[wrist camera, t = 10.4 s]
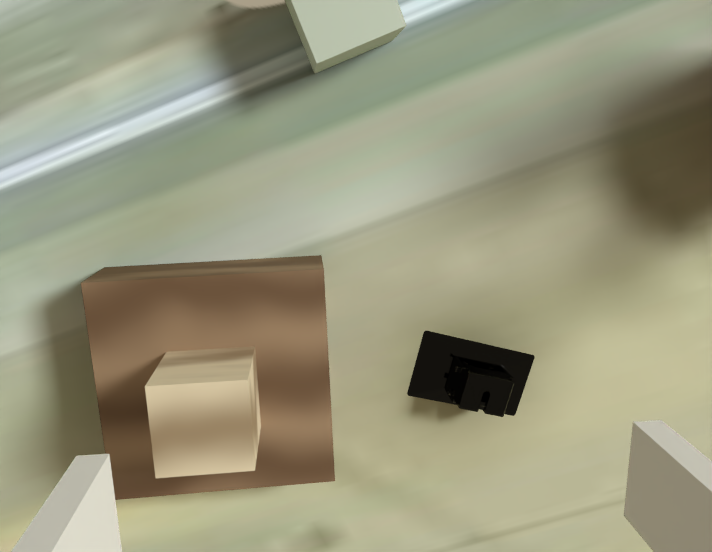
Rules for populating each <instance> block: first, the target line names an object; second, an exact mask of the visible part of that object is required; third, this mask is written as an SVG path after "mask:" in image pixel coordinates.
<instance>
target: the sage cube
mask: <svg viewBox="0 0 712 552" xmlns="http://www.w3.org/2000/svg"><path fill="white" fill-rule="evenodd" d="M285 2H286V5H287V7H288V10H289V12H290V15H291V17H292V19H293V22H294V24H295V27H296V29H297V32H298V34H299V37H300V39H301V42H302V44H303V47H304V49H305V51H306V54H307V56H308V59H309V61H310V64H311V66H312V69H313V71H314V74H315V73H318V72H320V71H322V70H325V69H327V68H329V67H332V66H334V65H336V64H339V63H341V62H343V61H346V60H348V59H350V58H353V57H355V56H358V55H360V54H362V53H365V52H367V51H369V50H372V49H374V48H376V47H379V46H381V45H383V44H386V43H388V42H391V41H392V40H393V39H394V38H395V37H396V36H397V35H398V34H399V33H400V32H401V31H402V30H403V29H404V28H405V27H406V23H405V21H404V18H403V15H402V12H401V10H400V7H399V4H398V1H397V0H285Z"/></svg>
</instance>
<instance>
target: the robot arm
mask: <svg viewBox="0 0 712 552" xmlns="http://www.w3.org/2000/svg"><path fill="white" fill-rule="evenodd" d="M624 516H625V518H626V519H627V520H628V521H629V522H630V524H631V525H632V526H633V527H634V528H635V530H636V531H637V532H638V533H639V535H640V536H641V537H642V538H643V539H644V541H645V542H646V543H647V544H648V545H649V547H650V548H651V549H652V550H653V551H654V552H712V461H711V460H710V459H709V458H707V457H706V456H705V455H704V454H702V453H701V452H700V451H699V450H698V449H696V448H695V447H694V446H693V445H691V444H690V443H689V442H688V441H686V440H685V439H684V438H683V437H682V436H680V435H679V434H678V433H677V432H675V431H674V430H673V429H672V428H671V427H669V426H668V425H667V424H666V423H664V422H663V421H662V420H655V421H638V422H633V427H632V437H631V447H630V458H629V468H628V478H627V488H626V498H625V508H624ZM11 552H122V548H121V541H120V533H119V525H118V517H117V509H116V502H115V494H114V486H113V478H112V471H111V463H110V455H109V454H96V455H79V456H76V457H75V459H74V460H73V461H72V463H71V464H70V466H69V467H68V469H67V470H66V472H65V473H64V475H63V476H62V478H61V479H60V480H59V482H58V483H57V485H56V486H55V488H54V489H53V491H52V492H51V494H50V495H49V497H48V498H47V500H46V501H45V502H44V504H43V505H42V507H41V508H40V510H39V511H38V513H37V514H36V516H35V517H34V519H33V520H32V522H31V523H30V524H29V526H28V527H27V529H26V530H25V532H24V533H23V535H22V536H21V538H20V539H19V541H18V542H17V543H16V545H15V546H14V548H13V549H12V551H11Z"/></svg>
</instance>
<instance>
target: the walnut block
mask: <svg viewBox="0 0 712 552" xmlns="http://www.w3.org/2000/svg"><path fill="white" fill-rule="evenodd" d="M81 288H82V295H83V302H84V309H85V315H86V322H87V329H88V336H89V343H90V350H91V357H92V364H93V371H94V378H95V385H96V392H97V399H98V406H99V413H100V420H101V427H102V434H103V441H104V447H105V454H109V455H110V463H111V471H112V478H113V486H114V494H115V500H117V499H129V498H140V497H152V496H164V495H176V494H188V493H199V492H211V491H223V490H235V489H247V488H258V487H270V486H282V485H294V484H306V483H317V482H329V481H335V475H334V456H333V437H332V418H331V399H330V380H329V360H328V341H327V322H326V303H325V284H324V268H323V262H322V257H321V255H320V256H302V257H284V258H266V259H248V260H230V261H212V262H194V263H176V264H158V265H140V266H122V267H104V268H103V269H101V270H100V271H98V272H97V273H95V274H94V275H92V276H91V277H89V278H88V279H86V280H85V281H83V282H82V283H81ZM238 347H255V352H256V366H257V379H258V393H259V406H260V420H261V430H260V437H259V444H258V452H257V459H256V466H255V471H245V472H232V473H219V474H206V475H193V476H180V477H168V478H156V477H155V469H154V460H153V452H152V443H151V435H150V426H149V418H148V409H147V401H146V392H145V385H146V384H147V382H148V381H149V379H150V377H151V376H152V374H153V373H154V371H155V369H156V368H157V366H158V365H159V363H160V361H161V360H162V358H163V357H164V355H165V354H166V352H173V351H189V350H205V349H222V348H238Z"/></svg>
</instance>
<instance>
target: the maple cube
mask: <svg viewBox="0 0 712 552" xmlns="http://www.w3.org/2000/svg"><path fill="white" fill-rule="evenodd" d="M145 392H146V401H147V409H148V418H149V426H150V435H151V443H152V452H153V460H154V469H155V477H156V478H168V477H180V476H193V475H206V474H219V473H232V472H245V471H255V466H256V459H257V452H258V444H259V437H260V430H261V420H260V406H259V393H258V379H257V366H256V352H255V347H238V348H222V349H205V350H189V351H173V352H166V354H165V355H164V357H163V358H162V360H161V361H160V363H159V365H158V366H157V368H156V369H155V371H154V373H153V374H152V376H151V377H150V379H149V381H148V382H147V384H146V385H145Z"/></svg>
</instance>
